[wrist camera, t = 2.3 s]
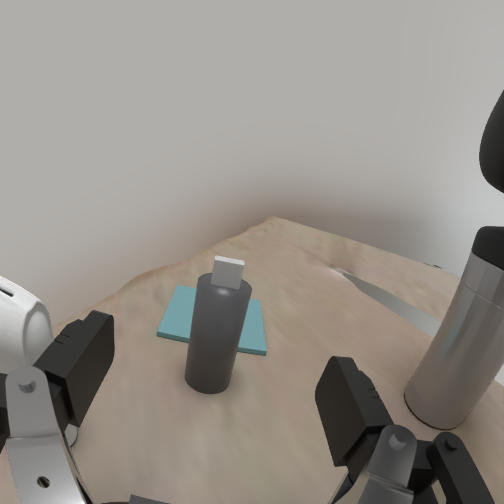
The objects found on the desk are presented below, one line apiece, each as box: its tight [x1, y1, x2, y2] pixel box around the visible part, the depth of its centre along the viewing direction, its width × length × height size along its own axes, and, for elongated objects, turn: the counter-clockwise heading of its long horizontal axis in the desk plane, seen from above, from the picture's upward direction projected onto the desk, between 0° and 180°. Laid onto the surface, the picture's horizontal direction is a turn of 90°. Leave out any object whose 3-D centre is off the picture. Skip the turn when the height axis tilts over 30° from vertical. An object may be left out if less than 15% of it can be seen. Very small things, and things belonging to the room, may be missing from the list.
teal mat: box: [157, 285, 267, 355], centre depth 35 cm, size 12×12×1 cm
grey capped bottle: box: [185, 256, 252, 394], centre depth 23 cm, size 4×4×12 cm
